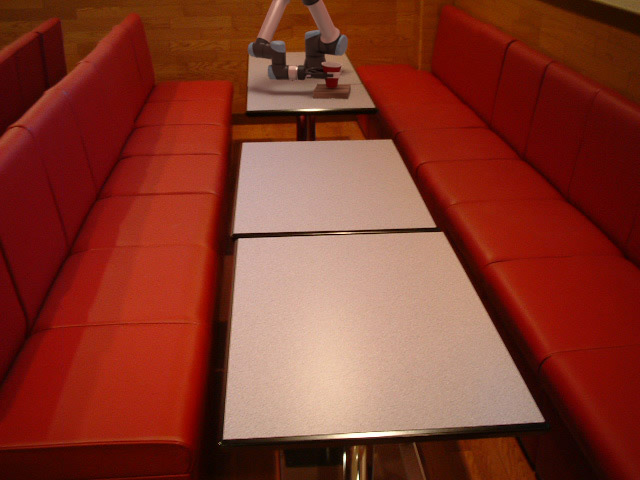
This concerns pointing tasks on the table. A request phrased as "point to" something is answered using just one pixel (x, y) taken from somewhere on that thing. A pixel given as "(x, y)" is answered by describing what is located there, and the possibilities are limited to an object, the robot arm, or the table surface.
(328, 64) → the plastic cup
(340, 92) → the walnut stand
